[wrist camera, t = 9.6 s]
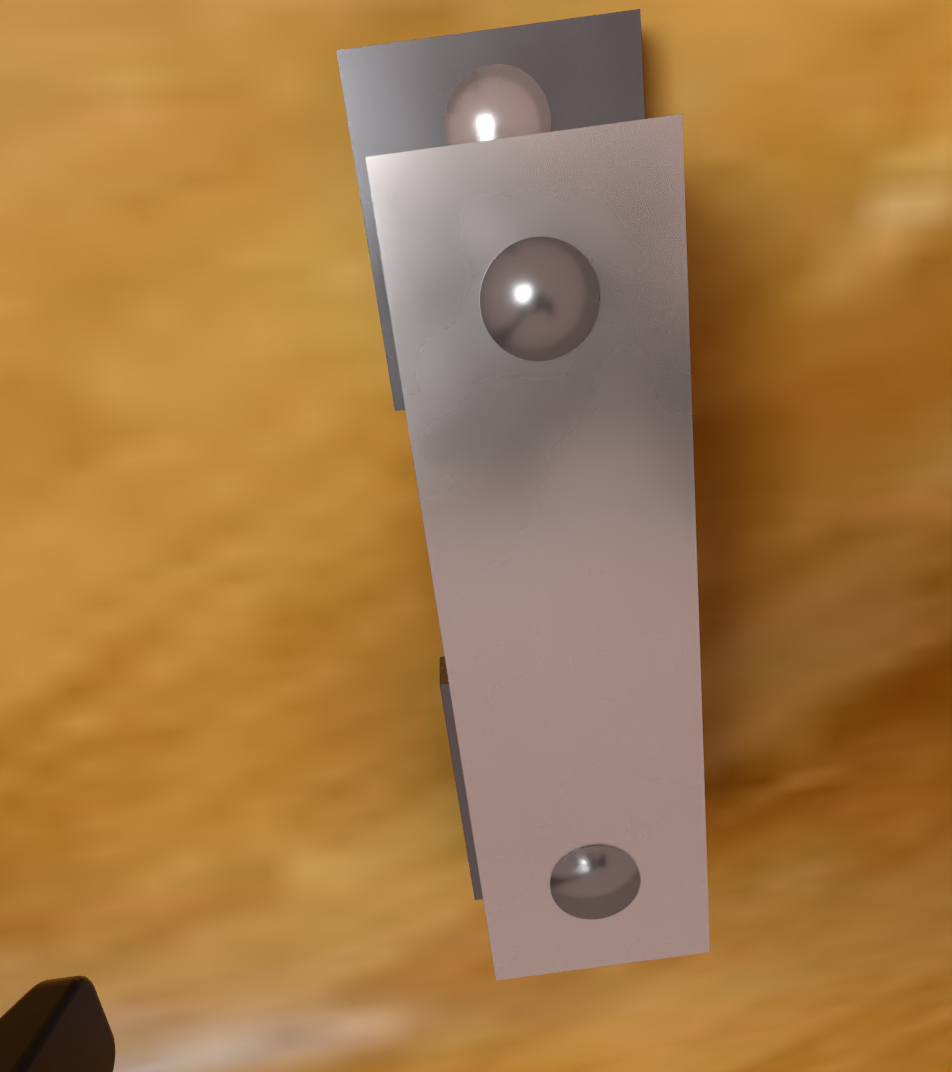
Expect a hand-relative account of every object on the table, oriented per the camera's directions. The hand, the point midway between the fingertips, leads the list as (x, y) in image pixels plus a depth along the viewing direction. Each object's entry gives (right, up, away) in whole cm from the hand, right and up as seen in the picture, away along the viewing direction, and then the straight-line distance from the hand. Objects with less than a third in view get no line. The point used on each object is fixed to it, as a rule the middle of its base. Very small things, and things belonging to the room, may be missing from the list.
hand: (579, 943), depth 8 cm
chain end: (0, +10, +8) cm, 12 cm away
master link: (0, +4, +9) cm, 10 cm away
